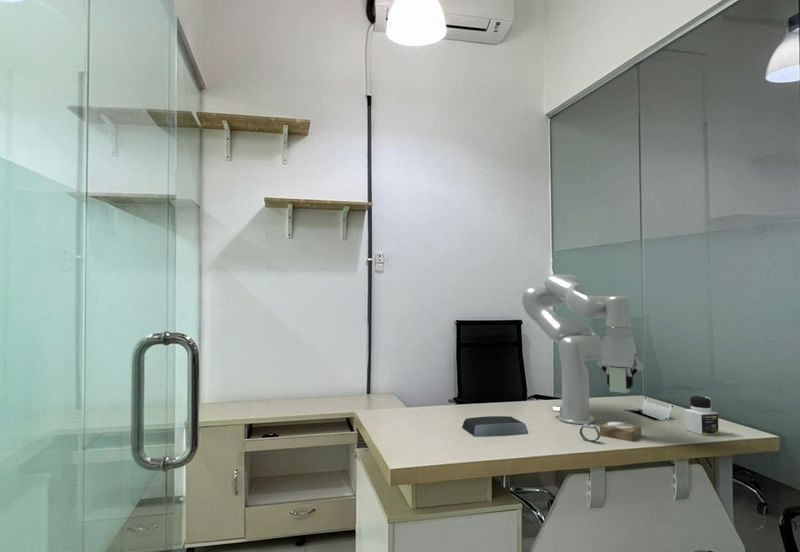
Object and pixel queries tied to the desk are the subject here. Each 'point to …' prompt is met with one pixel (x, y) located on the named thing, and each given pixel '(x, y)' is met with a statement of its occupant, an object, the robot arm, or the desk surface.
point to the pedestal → (620, 430)
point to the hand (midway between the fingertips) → (620, 386)
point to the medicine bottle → (701, 417)
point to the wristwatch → (591, 428)
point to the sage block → (618, 379)
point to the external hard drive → (494, 426)
